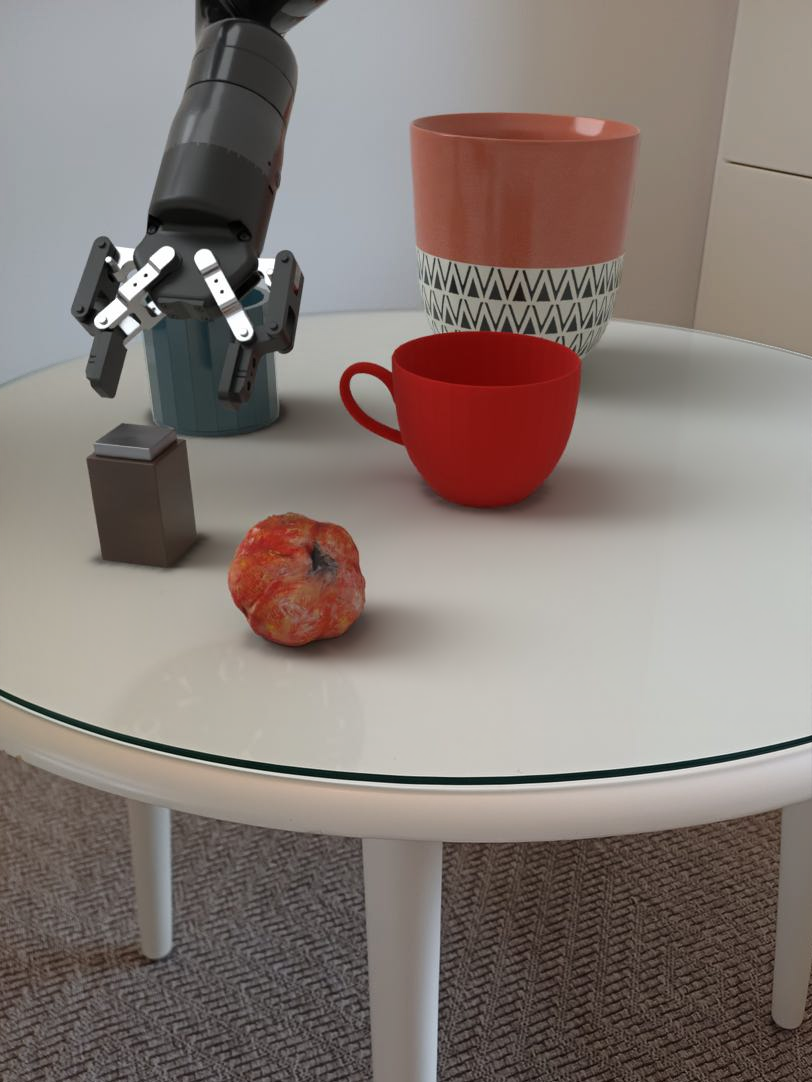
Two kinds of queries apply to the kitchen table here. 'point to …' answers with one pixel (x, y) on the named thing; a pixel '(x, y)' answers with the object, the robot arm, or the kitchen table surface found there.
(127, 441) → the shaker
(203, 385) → the crock
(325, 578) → the pomegranate
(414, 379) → the ceramic cup
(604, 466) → the kitchen table surface
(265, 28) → the robot arm
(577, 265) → the planter
